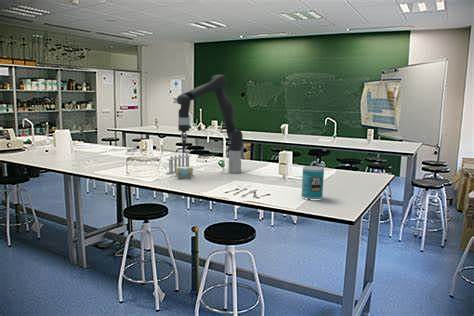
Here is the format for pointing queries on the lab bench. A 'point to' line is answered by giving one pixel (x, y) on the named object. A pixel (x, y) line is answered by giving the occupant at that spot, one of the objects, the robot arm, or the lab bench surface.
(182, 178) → the tray
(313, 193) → the food can
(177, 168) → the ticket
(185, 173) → the stub
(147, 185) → the lab bench surface
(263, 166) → the lab bench surface
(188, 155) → the test tube rack
